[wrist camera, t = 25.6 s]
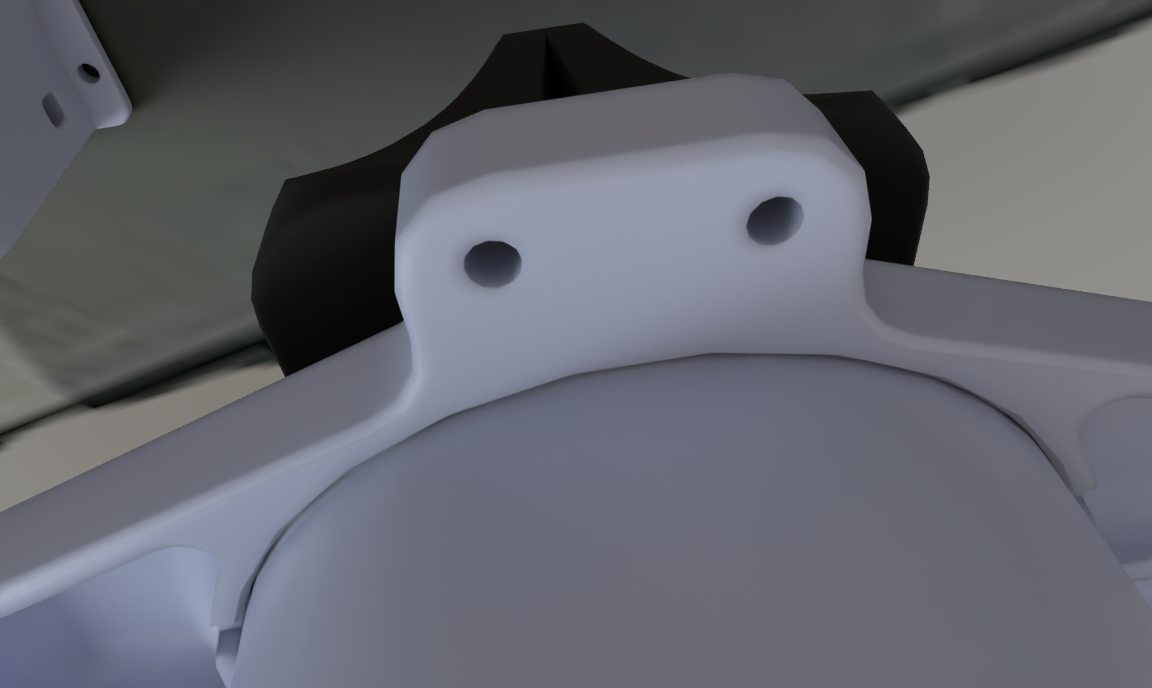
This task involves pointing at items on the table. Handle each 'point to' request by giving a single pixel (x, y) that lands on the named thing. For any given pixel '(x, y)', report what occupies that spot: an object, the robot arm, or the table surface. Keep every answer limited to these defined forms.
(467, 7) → the table surface
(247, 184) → the table surface
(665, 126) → the robot arm
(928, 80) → the table surface
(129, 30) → the table surface
